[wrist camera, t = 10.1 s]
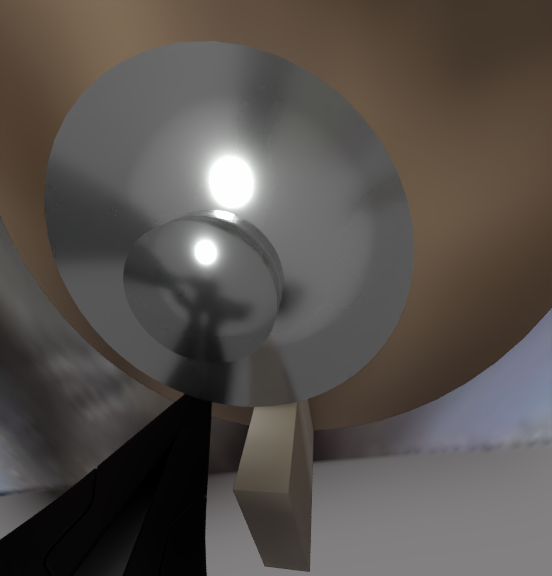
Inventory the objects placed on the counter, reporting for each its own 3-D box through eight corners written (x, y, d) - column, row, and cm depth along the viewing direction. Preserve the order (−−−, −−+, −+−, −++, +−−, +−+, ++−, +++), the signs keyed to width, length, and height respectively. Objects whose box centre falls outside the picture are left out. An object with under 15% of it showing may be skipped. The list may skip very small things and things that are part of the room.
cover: (184, 339, 9) (101, 451, 6) (95, 111, 7) (-166, 64, 3) (391, 326, 8) (447, 464, 4) (392, 29, 5) (546, -241, 2)
